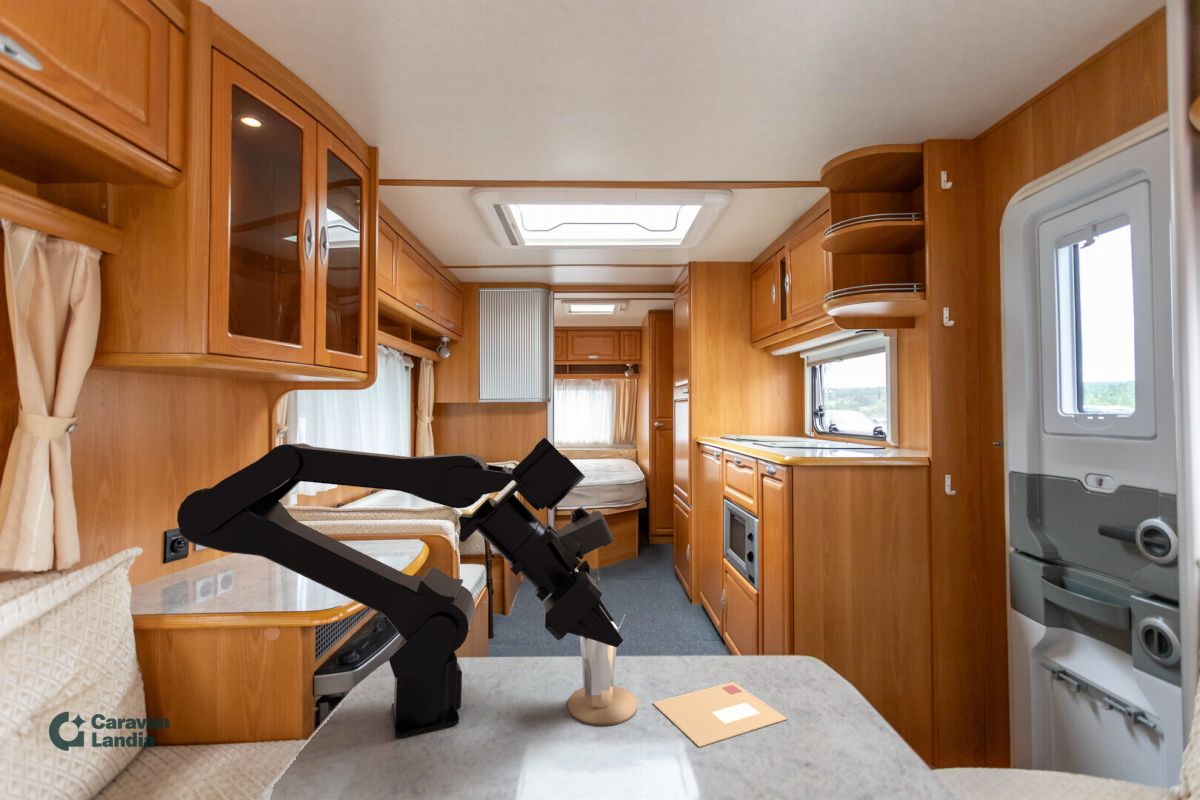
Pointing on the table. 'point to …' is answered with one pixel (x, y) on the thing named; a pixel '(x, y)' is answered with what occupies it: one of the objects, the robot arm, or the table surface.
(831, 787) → the table surface
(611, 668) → the milkshake
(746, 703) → the envelope
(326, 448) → the robot arm
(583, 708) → the coaster
